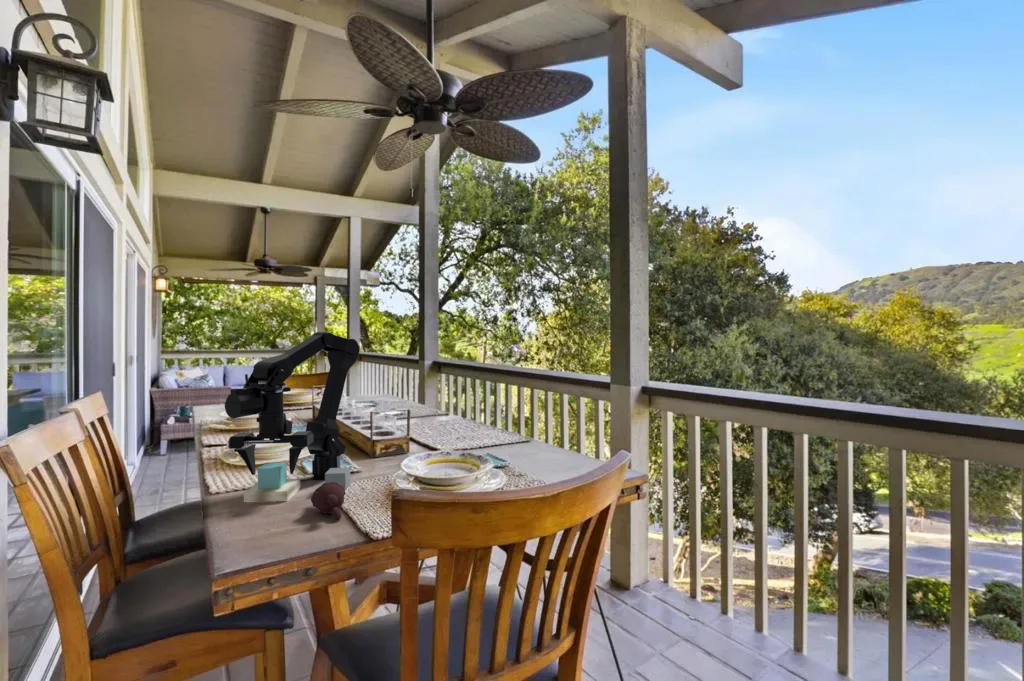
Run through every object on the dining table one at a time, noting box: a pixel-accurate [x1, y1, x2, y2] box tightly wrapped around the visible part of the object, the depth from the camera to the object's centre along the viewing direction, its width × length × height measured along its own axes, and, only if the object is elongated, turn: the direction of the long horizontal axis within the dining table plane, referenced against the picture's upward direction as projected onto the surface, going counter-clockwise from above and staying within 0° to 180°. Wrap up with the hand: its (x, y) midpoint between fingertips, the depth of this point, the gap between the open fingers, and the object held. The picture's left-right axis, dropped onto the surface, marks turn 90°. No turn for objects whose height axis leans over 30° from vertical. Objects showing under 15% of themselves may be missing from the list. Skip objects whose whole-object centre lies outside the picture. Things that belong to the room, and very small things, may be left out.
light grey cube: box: [324, 467, 351, 491], centre depth 133 cm, size 5×5×5 cm
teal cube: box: [257, 462, 288, 489], centre depth 129 cm, size 5×5×5 cm
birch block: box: [243, 478, 301, 503], centre depth 129 cm, size 10×10×3 cm
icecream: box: [310, 482, 346, 521], centre depth 118 cm, size 7×7×15 cm
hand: (272, 474), depth 129 cm, fingers open, 9 cm apart
